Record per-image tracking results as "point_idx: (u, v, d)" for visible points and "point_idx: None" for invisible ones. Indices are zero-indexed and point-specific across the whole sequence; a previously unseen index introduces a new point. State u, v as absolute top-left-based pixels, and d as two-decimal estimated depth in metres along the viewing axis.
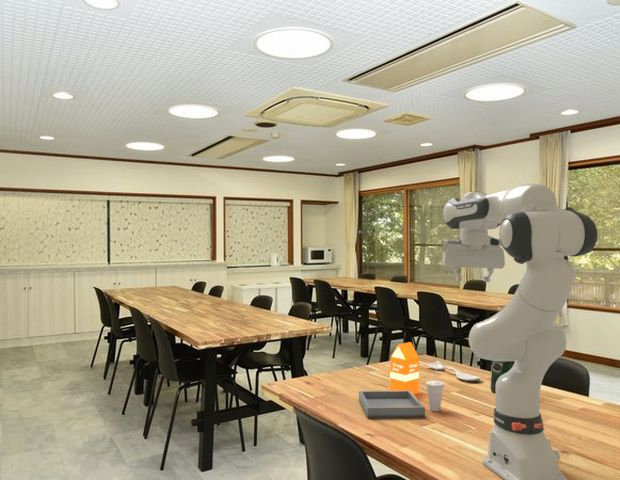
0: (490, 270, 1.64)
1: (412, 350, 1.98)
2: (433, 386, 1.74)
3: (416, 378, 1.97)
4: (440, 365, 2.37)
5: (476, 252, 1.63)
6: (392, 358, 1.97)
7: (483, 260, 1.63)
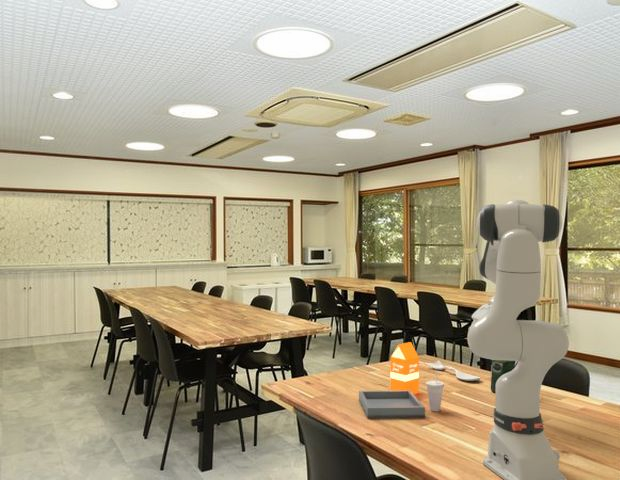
0: None
1: (412, 350, 1.98)
2: (433, 386, 1.74)
3: (416, 378, 1.97)
4: (441, 365, 2.38)
5: None
6: (392, 358, 1.97)
7: None
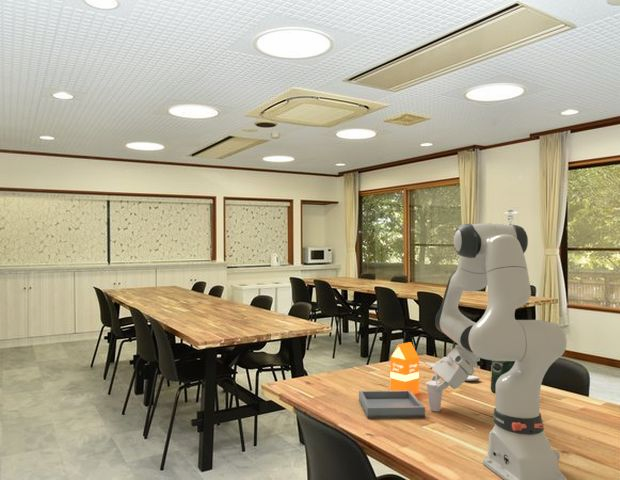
0: (442, 381, 1.73)
1: (412, 350, 1.98)
2: (433, 386, 1.74)
3: (416, 378, 1.97)
4: None
5: (449, 365, 1.77)
6: (392, 358, 1.97)
7: (445, 372, 1.75)
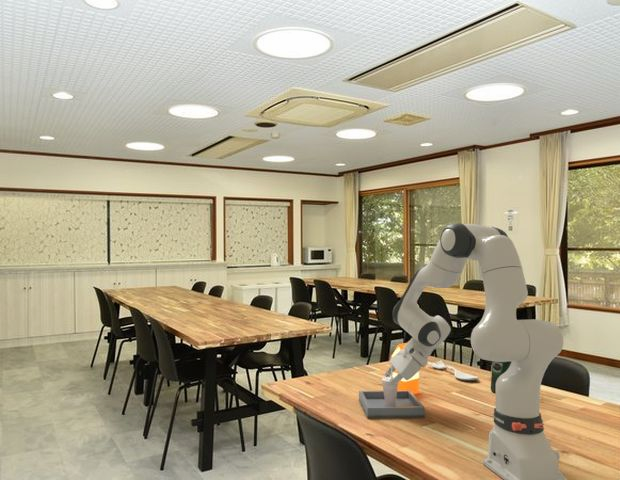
0: (397, 374, 1.73)
1: None
2: (388, 382, 1.76)
3: (416, 378, 1.97)
4: (442, 364, 2.39)
5: (404, 358, 1.78)
6: None
7: (400, 364, 1.76)
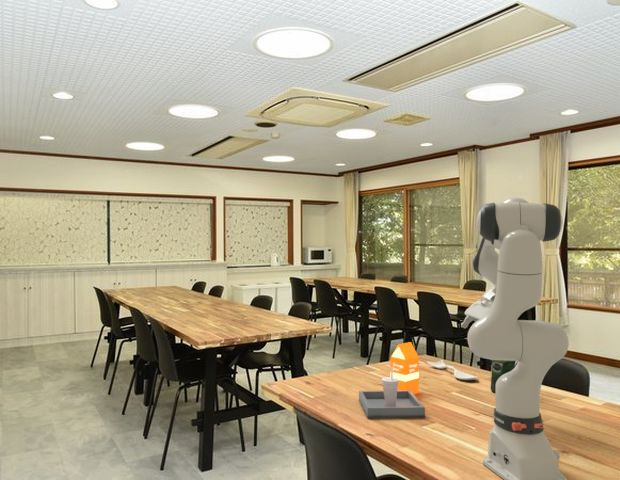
0: None
1: (412, 350, 1.98)
2: (388, 382, 1.76)
3: (416, 378, 1.97)
4: (443, 364, 2.39)
5: (484, 306, 1.76)
6: (392, 358, 1.97)
7: (480, 312, 1.74)
